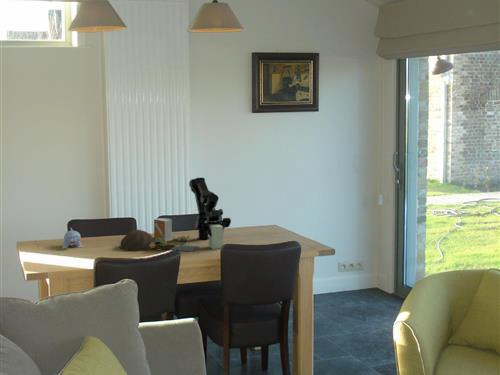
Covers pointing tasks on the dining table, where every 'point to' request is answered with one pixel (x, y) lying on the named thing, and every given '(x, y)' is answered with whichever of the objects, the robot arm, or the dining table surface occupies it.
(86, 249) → the dining table surface
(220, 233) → the sage block
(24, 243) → the dining table surface
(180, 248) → the slate mat
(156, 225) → the small box
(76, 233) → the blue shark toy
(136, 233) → the decorative dome
